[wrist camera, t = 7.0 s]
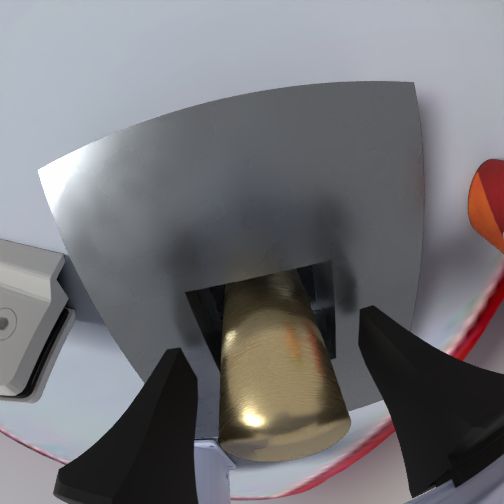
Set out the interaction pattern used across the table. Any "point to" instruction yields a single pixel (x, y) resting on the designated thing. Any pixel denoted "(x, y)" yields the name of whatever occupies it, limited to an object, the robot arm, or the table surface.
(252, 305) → the brass pin
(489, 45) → the table surface
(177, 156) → the block
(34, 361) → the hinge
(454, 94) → the table surface
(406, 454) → the robot arm
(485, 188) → the paper cup
